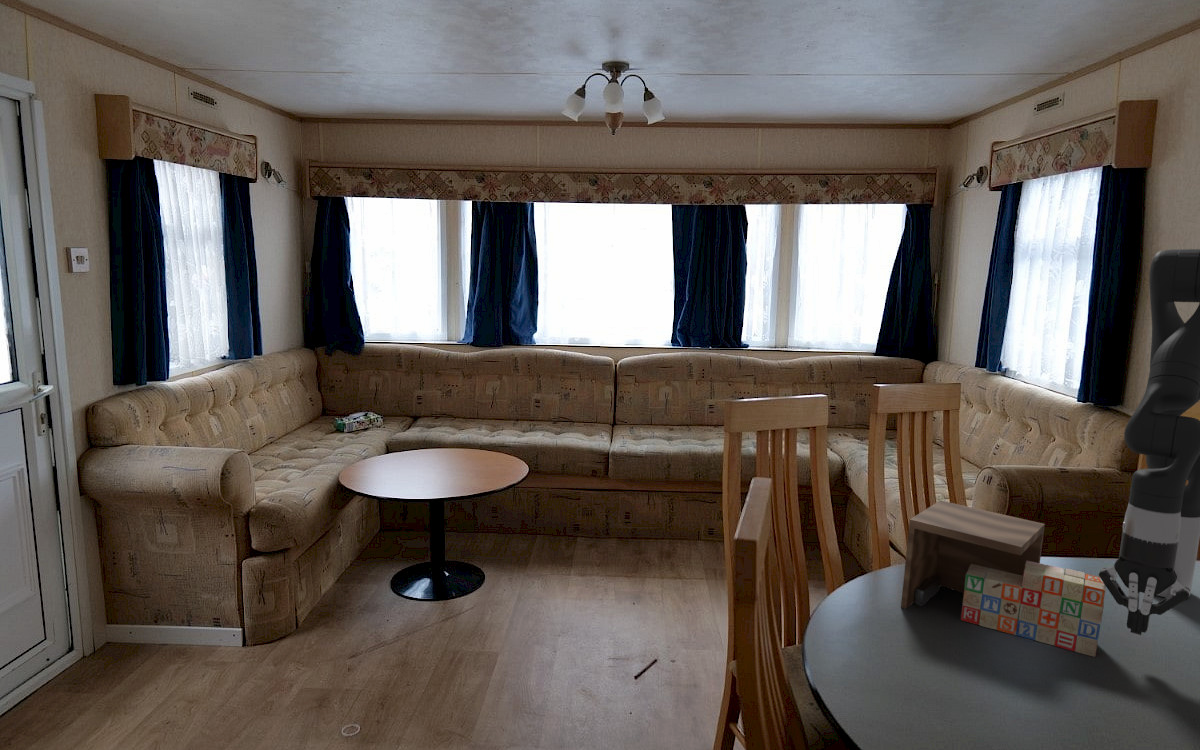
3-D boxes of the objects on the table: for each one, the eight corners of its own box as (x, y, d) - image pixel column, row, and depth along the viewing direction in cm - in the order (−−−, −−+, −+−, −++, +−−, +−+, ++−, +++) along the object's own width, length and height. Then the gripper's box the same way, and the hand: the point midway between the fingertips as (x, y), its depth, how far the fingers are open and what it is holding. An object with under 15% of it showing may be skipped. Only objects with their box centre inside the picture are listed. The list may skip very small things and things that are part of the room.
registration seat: (931, 588, 157) (933, 574, 156) (939, 590, 156) (941, 576, 155) (914, 603, 149) (915, 589, 149) (922, 606, 148) (923, 591, 148)
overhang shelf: (931, 581, 160) (940, 500, 157) (1033, 611, 148) (1044, 524, 145) (900, 607, 147) (909, 519, 145) (1009, 642, 135) (1021, 547, 132)
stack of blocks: (959, 621, 142) (966, 557, 141) (965, 609, 148) (972, 547, 146) (1096, 657, 131) (1106, 588, 129) (1097, 643, 136) (1106, 576, 134)
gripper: (1202, 538, 126) (1187, 638, 128) (1106, 518, 134) (1094, 612, 137) (1199, 550, 120) (1183, 654, 122) (1099, 528, 128) (1086, 626, 131)
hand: (1136, 632), depth 130 cm, fingers closed
